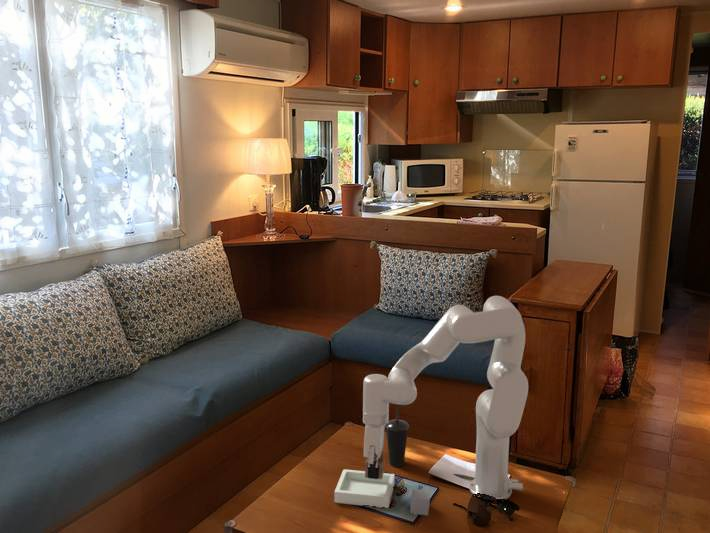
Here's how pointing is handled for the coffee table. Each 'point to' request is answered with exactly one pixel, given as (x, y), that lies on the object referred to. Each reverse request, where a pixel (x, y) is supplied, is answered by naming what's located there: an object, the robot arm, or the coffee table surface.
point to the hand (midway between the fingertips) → (374, 472)
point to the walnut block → (380, 464)
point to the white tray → (364, 489)
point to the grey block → (420, 501)
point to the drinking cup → (396, 440)
